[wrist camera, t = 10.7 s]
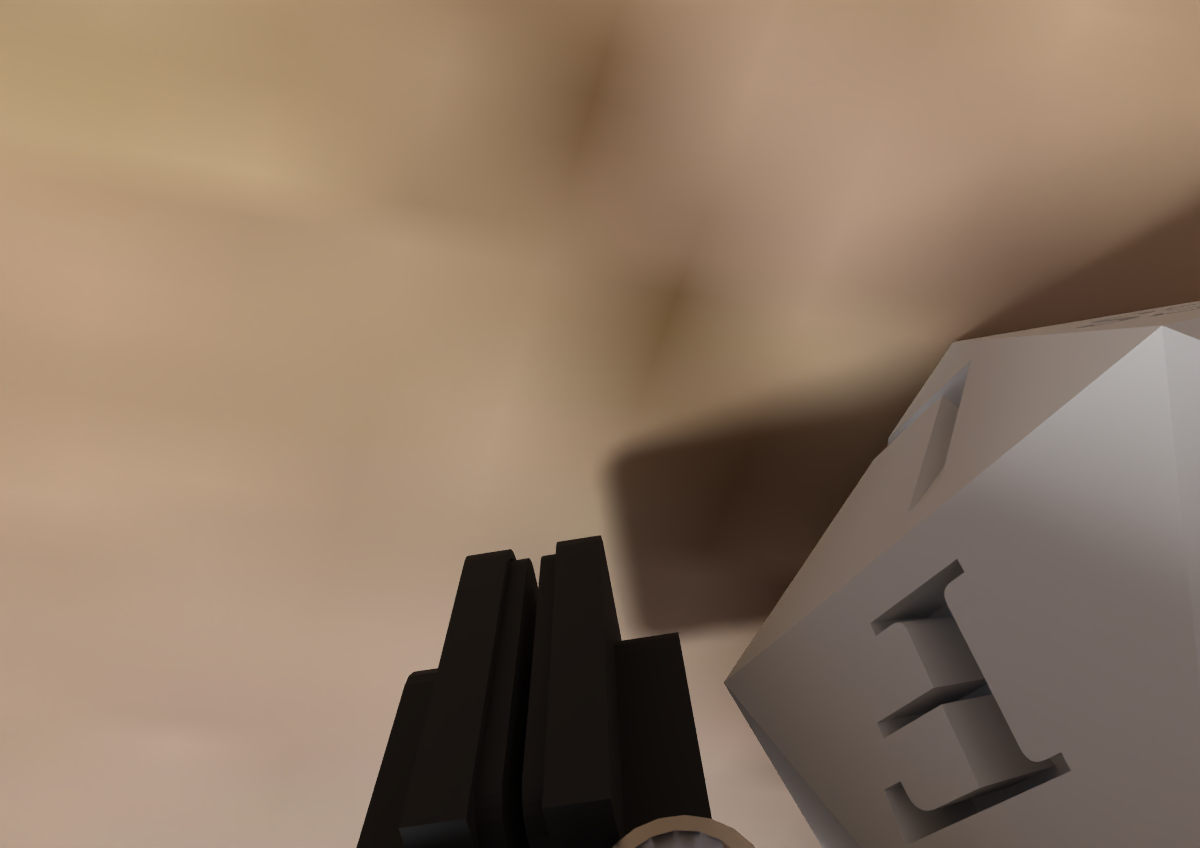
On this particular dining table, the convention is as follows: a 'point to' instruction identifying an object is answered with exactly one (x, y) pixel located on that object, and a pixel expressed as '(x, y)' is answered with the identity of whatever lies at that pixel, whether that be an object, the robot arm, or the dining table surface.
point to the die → (1006, 607)
